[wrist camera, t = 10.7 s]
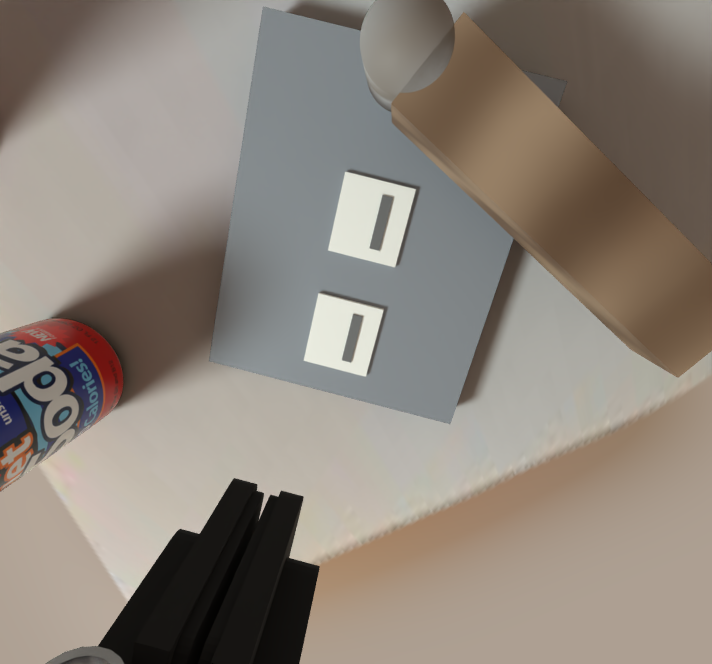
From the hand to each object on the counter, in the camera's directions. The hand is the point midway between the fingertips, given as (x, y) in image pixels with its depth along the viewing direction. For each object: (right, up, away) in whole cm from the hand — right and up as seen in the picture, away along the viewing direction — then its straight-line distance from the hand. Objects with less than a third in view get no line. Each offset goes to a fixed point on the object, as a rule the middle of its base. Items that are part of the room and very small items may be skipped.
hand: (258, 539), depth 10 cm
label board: (+3, +11, +17) cm, 20 cm away
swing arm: (+11, +12, +11) cm, 19 cm away
